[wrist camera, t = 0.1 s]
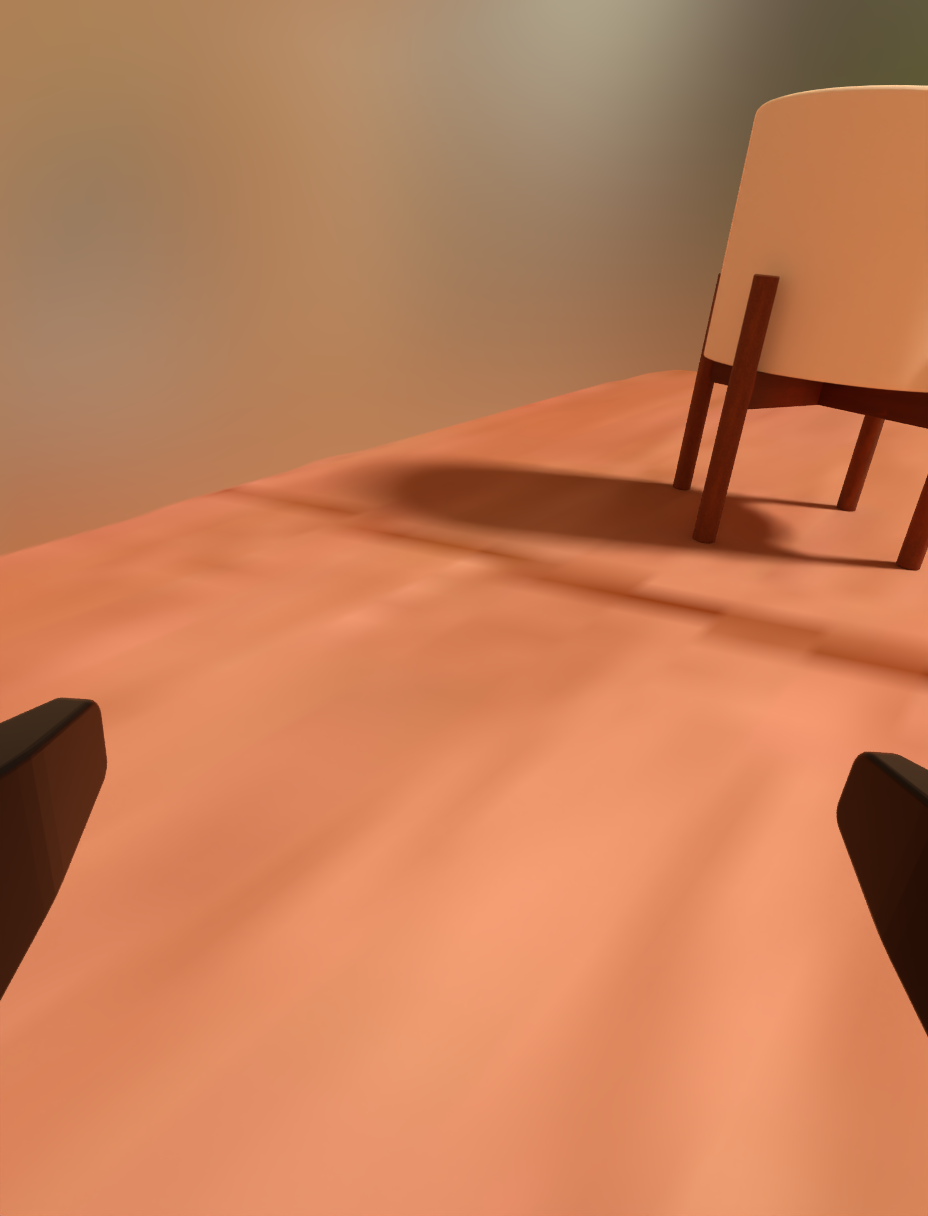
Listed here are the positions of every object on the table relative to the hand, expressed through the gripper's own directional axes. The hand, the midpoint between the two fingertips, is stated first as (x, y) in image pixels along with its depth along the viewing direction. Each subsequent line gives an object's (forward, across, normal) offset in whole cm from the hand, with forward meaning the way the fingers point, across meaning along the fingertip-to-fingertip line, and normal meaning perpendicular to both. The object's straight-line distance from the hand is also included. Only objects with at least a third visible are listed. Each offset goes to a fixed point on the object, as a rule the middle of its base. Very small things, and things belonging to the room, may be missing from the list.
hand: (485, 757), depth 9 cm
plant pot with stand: (+66, -36, +17) cm, 77 cm away
